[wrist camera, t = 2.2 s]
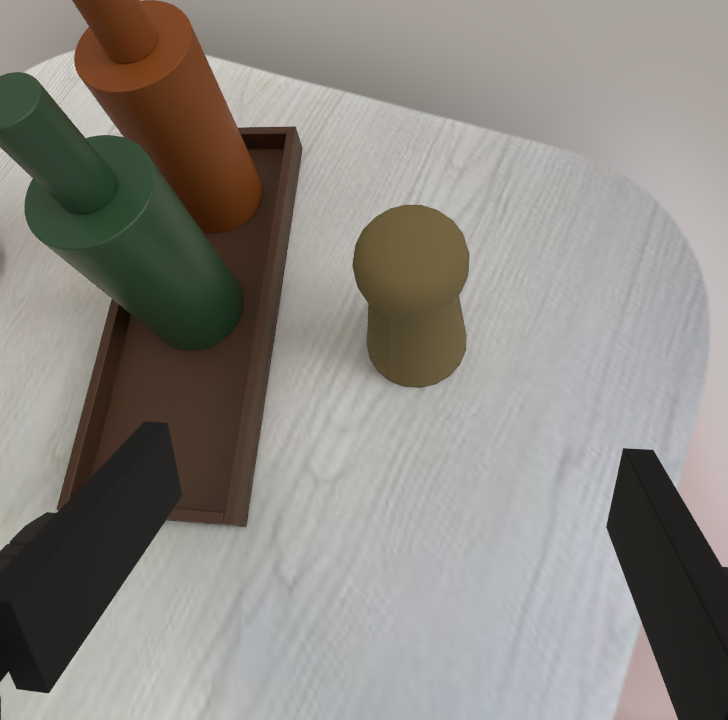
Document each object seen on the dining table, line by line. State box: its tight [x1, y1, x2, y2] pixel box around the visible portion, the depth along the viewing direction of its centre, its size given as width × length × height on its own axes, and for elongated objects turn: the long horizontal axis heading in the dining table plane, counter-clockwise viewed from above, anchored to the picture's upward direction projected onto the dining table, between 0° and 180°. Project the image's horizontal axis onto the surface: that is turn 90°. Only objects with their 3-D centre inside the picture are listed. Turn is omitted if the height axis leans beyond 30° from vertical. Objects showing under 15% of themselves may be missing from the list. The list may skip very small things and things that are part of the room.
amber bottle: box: [72, 0, 263, 233], centre depth 30 cm, size 6×6×17 cm
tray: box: [57, 127, 302, 527], centre depth 35 cm, size 10×26×2 cm, turn 175°
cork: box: [353, 205, 469, 387], centre depth 28 cm, size 6×6×11 cm
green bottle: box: [0, 72, 244, 351], centre depth 27 cm, size 6×6×17 cm
